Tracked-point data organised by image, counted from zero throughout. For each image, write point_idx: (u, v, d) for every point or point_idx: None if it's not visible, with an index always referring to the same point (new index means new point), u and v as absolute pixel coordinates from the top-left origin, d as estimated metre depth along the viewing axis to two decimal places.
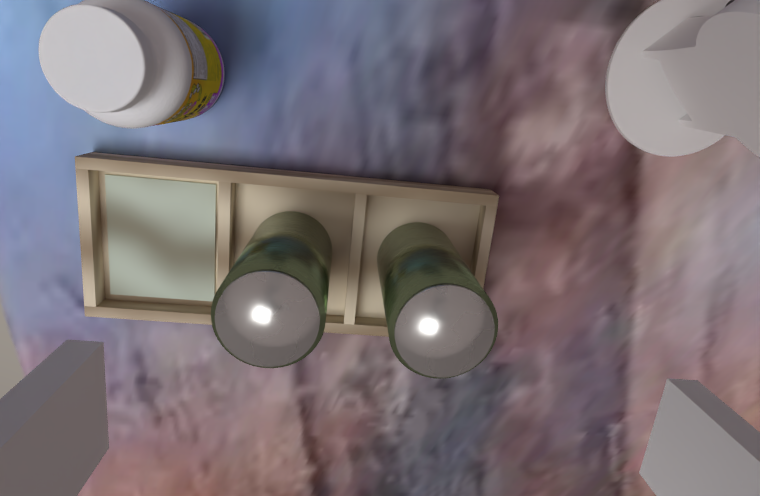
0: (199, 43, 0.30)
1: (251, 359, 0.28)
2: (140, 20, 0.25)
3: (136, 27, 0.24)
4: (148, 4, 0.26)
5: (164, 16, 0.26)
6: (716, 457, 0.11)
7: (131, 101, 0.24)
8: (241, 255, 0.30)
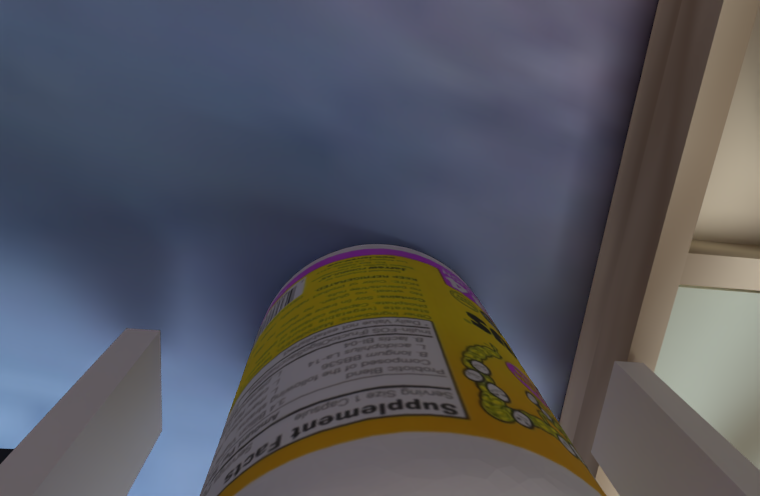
0: (319, 339, 0.09)
1: None
2: None
3: None
4: None
5: None
6: (653, 432, 0.11)
7: None
8: None
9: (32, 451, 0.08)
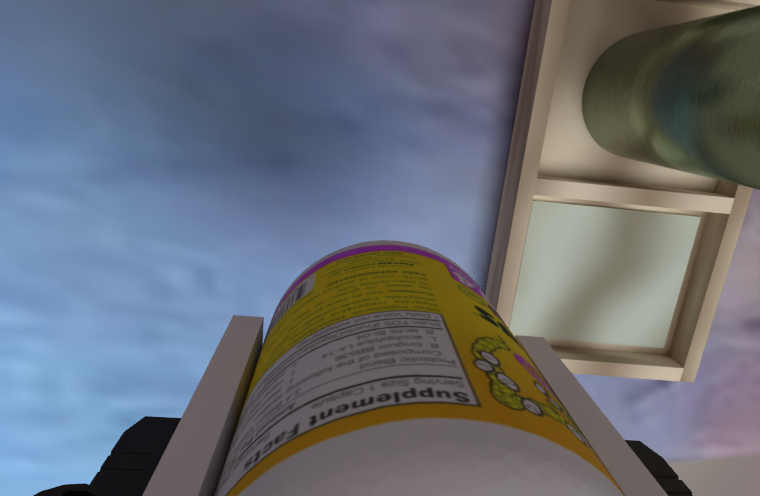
0: (331, 332, 0.09)
1: None
2: None
3: None
4: None
5: None
6: None
7: None
8: (692, 156, 0.18)
9: (199, 416, 0.09)
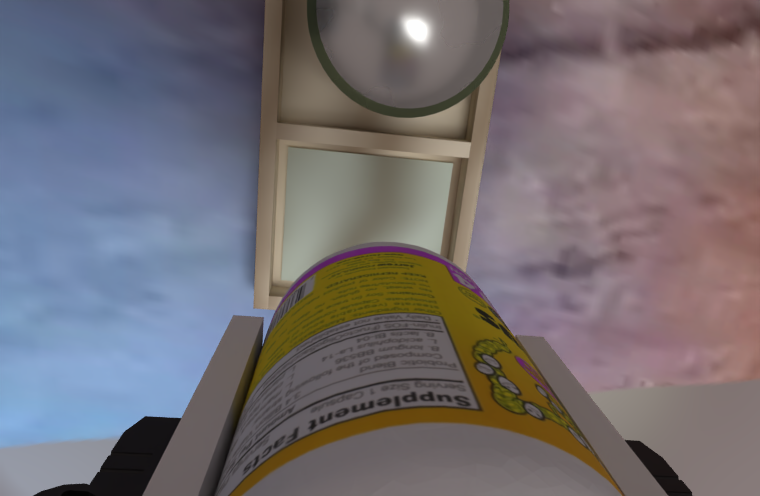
0: (331, 334, 0.09)
1: (484, 48, 0.15)
2: None
3: None
4: None
5: None
6: None
7: None
8: None
9: (199, 416, 0.09)
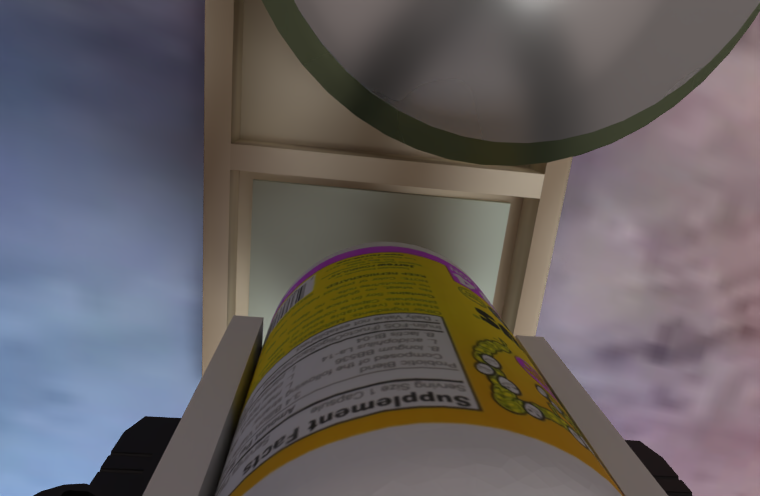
0: (331, 334, 0.09)
1: None
2: None
3: None
4: None
5: None
6: None
7: None
8: None
9: (199, 416, 0.09)
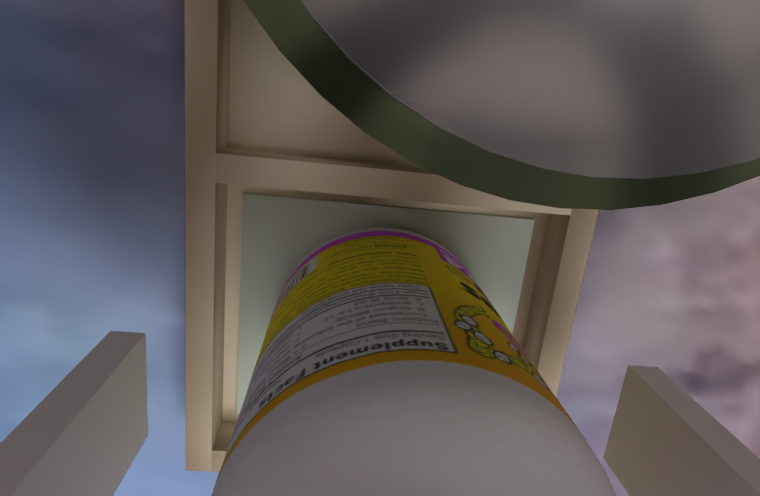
0: (332, 300, 0.11)
1: None
2: None
3: None
4: None
5: (256, 451, 0.07)
6: (669, 438, 0.11)
7: None
8: None
9: (6, 458, 0.08)
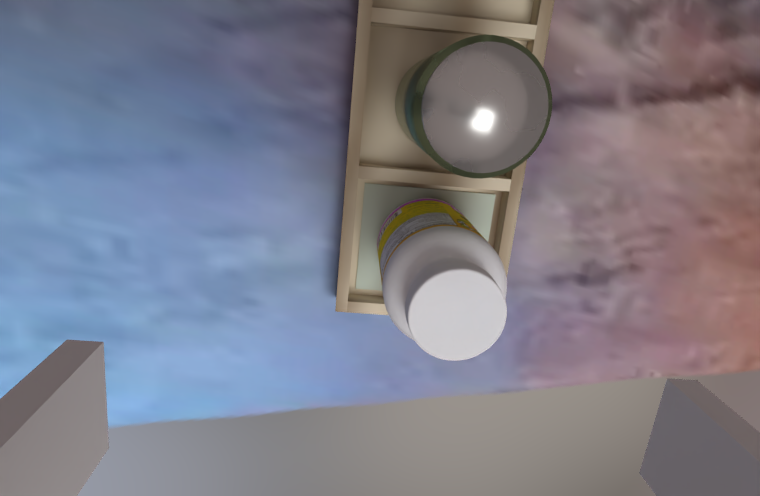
0: (414, 218, 0.30)
1: (535, 132, 0.22)
2: (411, 269, 0.26)
3: (424, 273, 0.24)
4: (392, 261, 0.27)
5: (403, 247, 0.27)
6: (716, 457, 0.11)
7: (497, 285, 0.24)
8: (420, 147, 0.27)
9: None
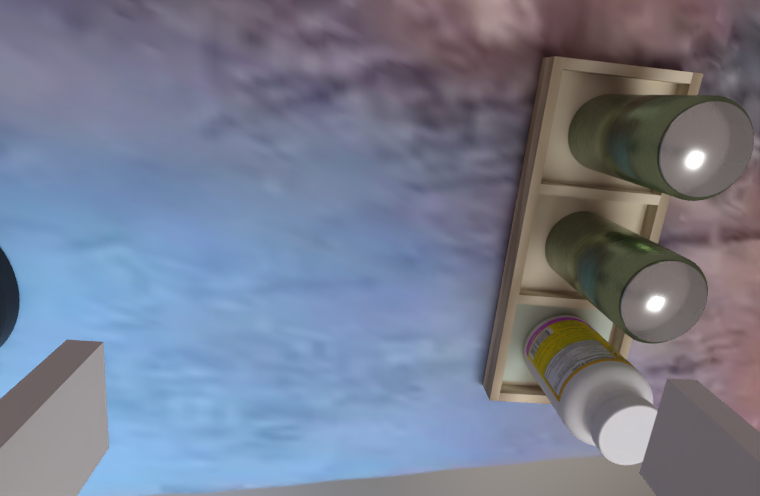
0: (574, 345, 0.40)
1: (696, 316, 0.33)
2: (590, 396, 0.36)
3: (608, 405, 0.35)
4: (573, 387, 0.37)
5: (581, 378, 0.37)
6: (716, 457, 0.11)
7: None
8: (594, 305, 0.37)
9: None
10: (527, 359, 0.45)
